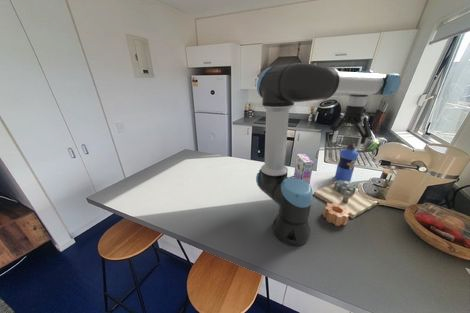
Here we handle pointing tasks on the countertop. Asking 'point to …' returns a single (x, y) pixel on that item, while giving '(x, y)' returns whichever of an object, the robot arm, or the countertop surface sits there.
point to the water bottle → (346, 163)
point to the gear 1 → (344, 187)
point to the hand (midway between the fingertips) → (345, 145)
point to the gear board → (352, 201)
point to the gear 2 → (336, 214)
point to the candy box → (303, 168)
